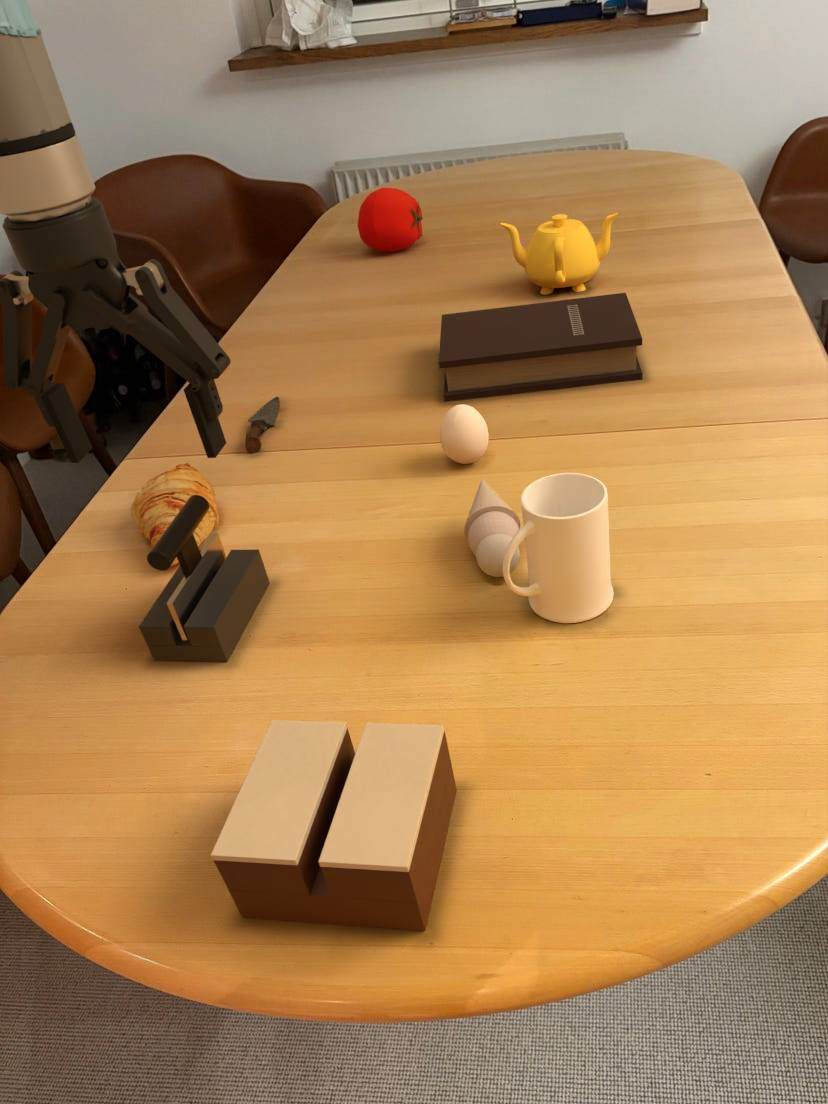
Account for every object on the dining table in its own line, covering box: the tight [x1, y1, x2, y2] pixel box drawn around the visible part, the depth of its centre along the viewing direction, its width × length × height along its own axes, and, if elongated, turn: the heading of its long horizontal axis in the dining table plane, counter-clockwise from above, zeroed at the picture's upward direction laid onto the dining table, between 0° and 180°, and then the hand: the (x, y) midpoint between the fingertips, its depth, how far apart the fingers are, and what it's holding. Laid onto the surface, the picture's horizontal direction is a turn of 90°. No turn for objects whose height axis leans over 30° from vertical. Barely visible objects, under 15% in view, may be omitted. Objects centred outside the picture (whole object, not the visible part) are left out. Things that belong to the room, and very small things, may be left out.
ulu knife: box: [146, 495, 227, 643], centre depth 91 cm, size 2×12×10 cm, turn 171°
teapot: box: [500, 211, 620, 295], centre depth 155 cm, size 20×15×12 cm
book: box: [438, 292, 643, 402], centre depth 134 cm, size 28×20×6 cm
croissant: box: [130, 462, 221, 567], centre depth 110 cm, size 21×10×8 cm, turn 10°
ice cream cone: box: [463, 478, 521, 578], centre depth 98 cm, size 6×6×15 cm
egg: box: [439, 403, 490, 465], centre depth 113 cm, size 6×6×8 cm
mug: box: [503, 472, 615, 624], centre depth 87 cm, size 12×8×12 cm
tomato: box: [357, 187, 423, 253], centre depth 183 cm, size 13×13×13 cm
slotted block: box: [138, 549, 271, 663], centre depth 95 cm, size 8×13×4 cm, turn 171°
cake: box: [210, 719, 458, 932], centre depth 68 cm, size 14×13×8 cm
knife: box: [244, 396, 280, 454], centre depth 130 cm, size 17×2×5 cm
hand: (148, 453), depth 83 cm, fingers open, 13 cm apart
